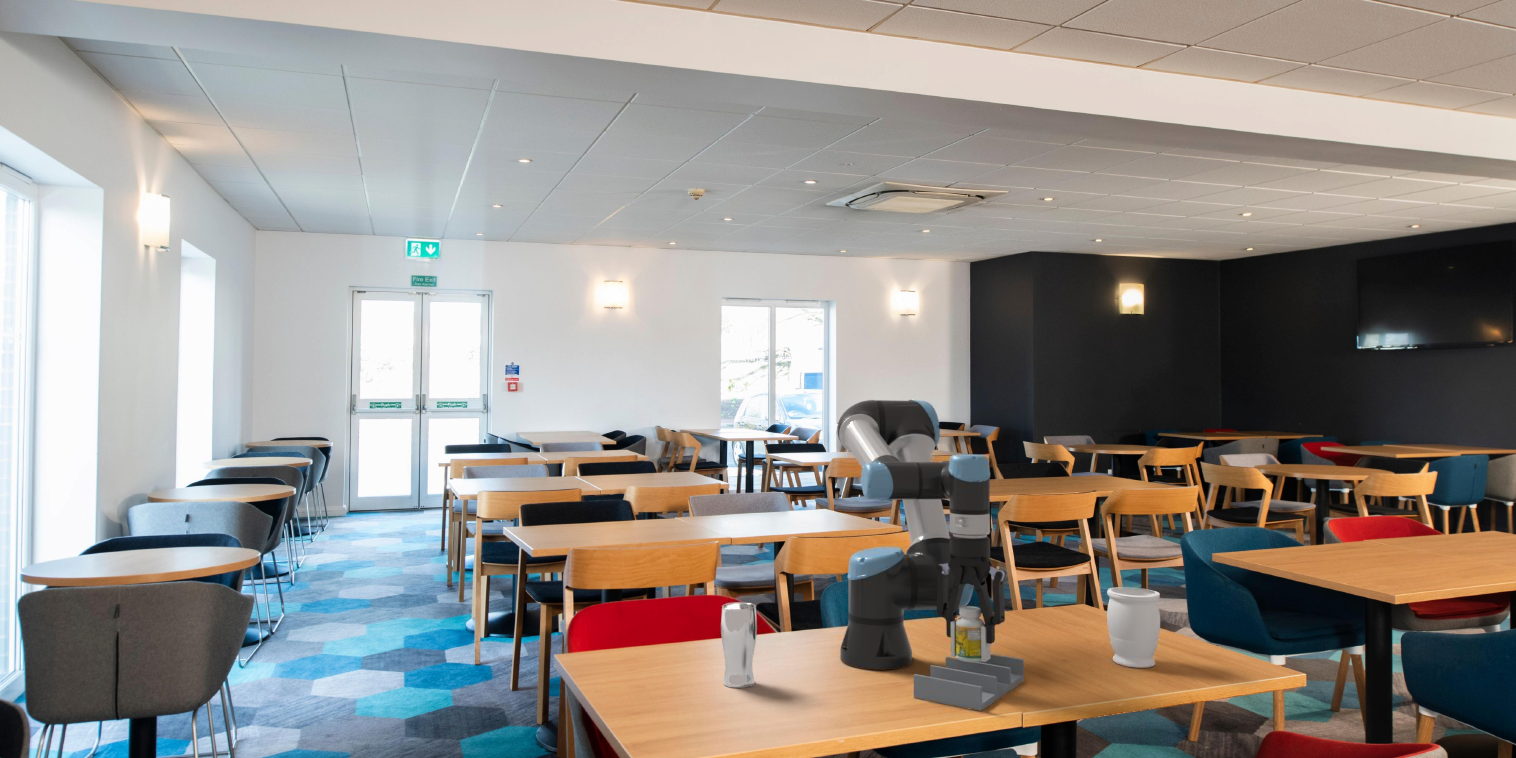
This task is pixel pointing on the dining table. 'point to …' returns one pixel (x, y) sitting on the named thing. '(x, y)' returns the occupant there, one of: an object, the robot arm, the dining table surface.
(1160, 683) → the dining table surface
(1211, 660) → the dining table surface
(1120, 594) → the jar
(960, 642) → the supplement bottle
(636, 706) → the dining table surface
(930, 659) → the dining table surface
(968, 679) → the rack
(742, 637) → the beer glass
